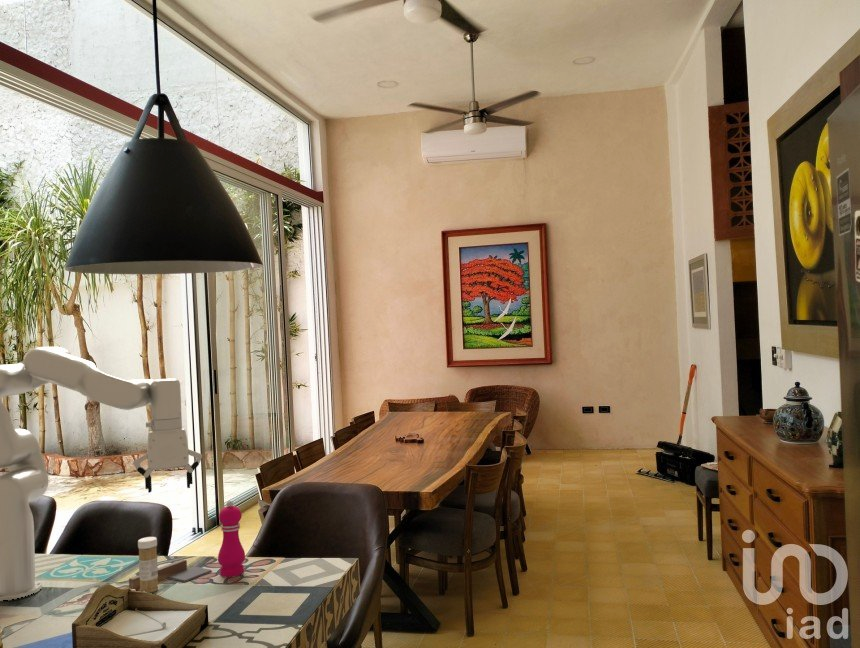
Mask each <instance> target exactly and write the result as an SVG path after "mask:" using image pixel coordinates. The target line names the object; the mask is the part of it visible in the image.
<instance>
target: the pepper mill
mask: <svg viewBox="0 0 860 648" xmlns="http://www.w3.org/2000/svg"><path fill="white" fill-rule="evenodd" d="M242 515H243V514H242V511H241V509H240V508H239V507H238V506H235V505H234V502H233V501H232V500H228V501H226V506H225V507H223V508H222V509H221V510H220V511H219V514H218V520H219V523H221V525H220V527H221V531H222V543H221V546H220V549H219V551H218V554H217V556H218V557H217V562H218V564H219V565H220V566H221V567H219V575H220V576H221V577H222V576H223V578H233V577H232V576H235V577H238V575H239V576H241V575H243V574H244V572H245V568H244V564H243V562H244V561H245V560H246V552H245V549H244V547H243V545H242V543H241V540H240V535H239V531H240V529H241V523H240V521H241V519H242ZM242 573H243V574H242ZM240 574H241V575H240Z"/></svg>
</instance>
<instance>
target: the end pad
mask: <svg viewBox="0 0 860 648" xmlns="http://www.w3.org/2000/svg"><path fill="white" fill-rule="evenodd" d="M210 573H212V569H209V568H205V567H199V566H192V567H189V568H187V569H186V570H184V571H181V572H178V573H176V574H173V575H170V576H168V578H167V579H170V580H174V581H178V582H182V583H187V582H190V581H191V580H194V579H197V578H199V577H202V576H205V575H207V574H210Z"/></svg>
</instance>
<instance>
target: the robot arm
mask: <svg viewBox="0 0 860 648" xmlns="http://www.w3.org/2000/svg"><path fill="white" fill-rule="evenodd" d="M179 380H180V379H179ZM179 380H178V379H177V378H157V379H147V378H139V379H138V378H137V379H130V380H129V379H127V380H126V379H123V378H120V377H116V376H114V375H111V374H107V373H105V372H103V371H100V369H98V368H97V367H96V364H95V363H94V362H92V361H90V360H86V359H84V358H80V357H78V356H74V355H72V354H71V353H70V352H69V351H68V350H67V349H65V348H64V347H60V346H39V347H35V348H33V349H31V350H30V351H28V352H27V354H25V357H24V359H23V360H22V361H19V362H18V363H11V364H9V363H8V364H5V363H4V364H0V470H2V469H6V468H7V470H8V472H5V473H3V474H1V475H0V602H4V601H3V600H8V601H13V600H12V599H14V600H18V599H17V598H19V599H22V598H21V597H23V598H25V596H26V597H29V596H32V595H34V594H36V593H38V592H39V591H41V590H42V589H43V583H42V581H40V580H36V559H35V558H36V557H35V556H36V554H35V550H36V549H35V525H34V524H35V523H34V516H33V512H32V510H31V507H30V503H31V502H33V501H35V500H37V499H39V498H40V497H42V496H43V495H44V494H45V493H46V492H47V489H48V487H49V474H48V470H47V467H46V464H45V460H44V457H43V454H42V450H41V446H40V444H39V441H38V439H37V437H36V436H35V435H34V434H33V433H32V432H31V431H29V430H27V429H24V428H14V427H15V426H14V425H13V422H12V421H13V420H12V419H11V415H10V411H9V410H8V408H7V407H6V406H5V404H4V403H3V400H2V399H3V398H4V397H10V396H17V395H23V394H25V393H28V392H31V391H33V390H36V389H38V388H40V387H42V386H44V385H47V384H49V383H50V384H52V385H56V386H60V387H63V388H66V389H68V390H72V391H74V392H78V393H80V394H81V395H82V396H84V397H86V398H88V399H89V400H90V399H91V400H93V401H94V402H98V403H99V404H102V405H106V406H109V407H111V408H115V409H119V410H125V411H129V410H134V409H138V408H143V407H146V406H150V412H151V413H150V414H151V420H150V421H147V422H145V428H149V429H151V430H150V431H149V432H148V437H147V452H146V453H145V454H143V455H142V456H140V457H138V458H136V459H135V460H132V461H133V462H132V464H133V466H134V468H135V469H136V470H137V472H138V473H139V474H140V475H142V476H143V477H144V481H145V482H144V484H145V489H146V490H147V491H148V493H152V490H153V489H152V487H153V486H152V485H153V484H152V475H151V474H152V472H153V471H158V470H169V469H176V468H184V469H185V470H186V486H187V489H190V488H191V485H193V482H194V481H193V472H194V471H195V469H197V467H199V465H200V462H201V461H202V458H203V454H202V453H199V452H197V451H194V450H191V449H189V445H188V438H187V437H188V436H187V432H186V429H185V428H183V421H182V396H181V395H182V394H181V392H182V391H181V390H182V389H181V382H180V381H179ZM189 456H191V457H193V458H195V460H194V462H193V463H192V464H190V463H189V461H190V460H189V458H190V457H189ZM146 460H147V467H148V468H147V469H145V468H144V467H142V465H141V463H142V462H145V461H146ZM40 589H41V590H40ZM33 593H34V594H33ZM31 594H32V595H31ZM28 595H29V596H28Z"/></svg>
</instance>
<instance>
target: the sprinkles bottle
mask: <svg viewBox="0 0 860 648" xmlns="http://www.w3.org/2000/svg"><path fill="white" fill-rule="evenodd" d="M157 546H158V539H157V537H156V536H146V537H142V538H140V539H138V541H137V548H138V569H139V570H138V573H139V574H138V575H139V578H140V589H139V592H140V591H145V592H151V593H154V592H156V591H157V590H159V585H158V584H159V583H158V580H157V577H158V568H159V567H158V556H157V555H158V554H157Z"/></svg>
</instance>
